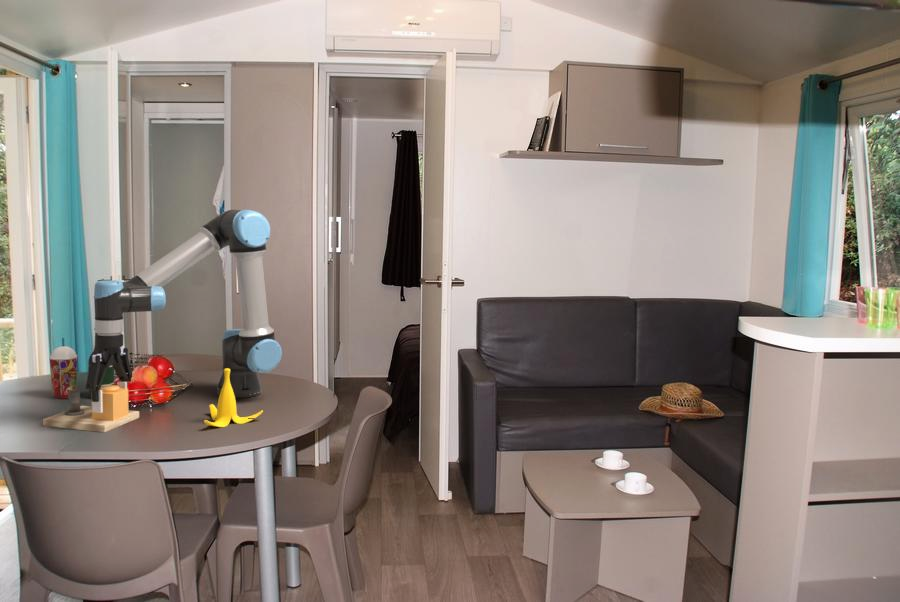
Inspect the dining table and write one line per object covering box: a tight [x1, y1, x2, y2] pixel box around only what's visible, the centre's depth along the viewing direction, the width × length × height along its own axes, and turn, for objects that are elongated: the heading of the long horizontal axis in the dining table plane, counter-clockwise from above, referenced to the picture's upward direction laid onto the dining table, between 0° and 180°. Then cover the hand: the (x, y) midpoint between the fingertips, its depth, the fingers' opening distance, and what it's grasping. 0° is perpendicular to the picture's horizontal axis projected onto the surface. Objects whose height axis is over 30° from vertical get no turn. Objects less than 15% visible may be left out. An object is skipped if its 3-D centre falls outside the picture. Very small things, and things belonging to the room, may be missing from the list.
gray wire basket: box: [114, 352, 162, 377], centre depth 272 cm, size 27×11×10 cm, turn 88°
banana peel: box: [203, 368, 264, 428], centre depth 215 cm, size 17×19×17 cm
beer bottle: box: [87, 328, 115, 400], centre depth 240 cm, size 8×8×24 cm
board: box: [42, 388, 140, 433], centre depth 212 cm, size 20×16×9 cm
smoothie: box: [48, 337, 79, 400], centre depth 238 cm, size 8×8×20 cm
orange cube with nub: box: [91, 384, 129, 421], centre depth 211 cm, size 7×7×9 cm
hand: (110, 407), depth 211 cm, fingers open, 10 cm apart
